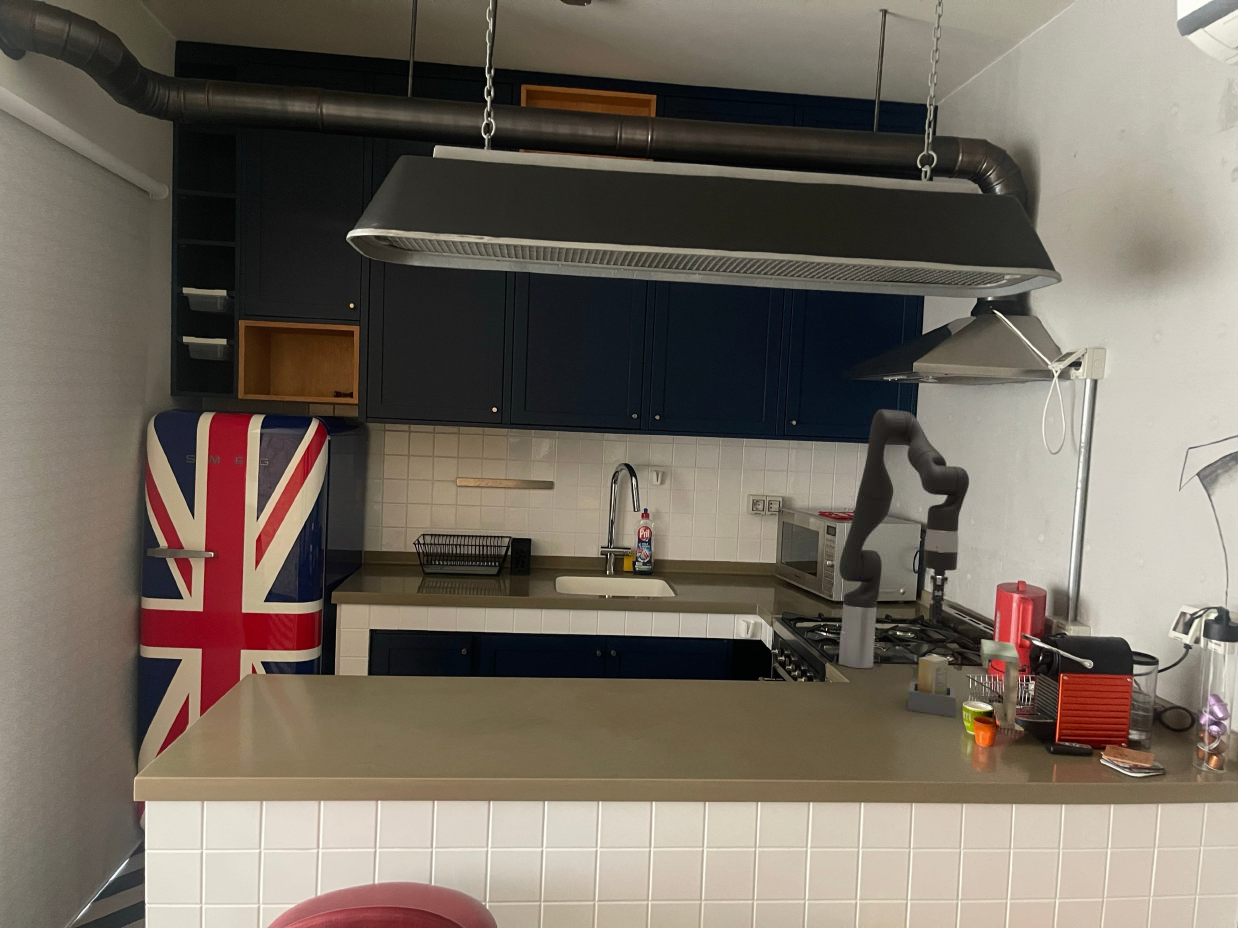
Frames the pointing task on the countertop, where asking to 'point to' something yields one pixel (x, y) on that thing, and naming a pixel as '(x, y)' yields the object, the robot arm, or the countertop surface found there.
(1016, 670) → the awning stand
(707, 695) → the countertop surface
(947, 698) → the socket
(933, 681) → the skincare box
